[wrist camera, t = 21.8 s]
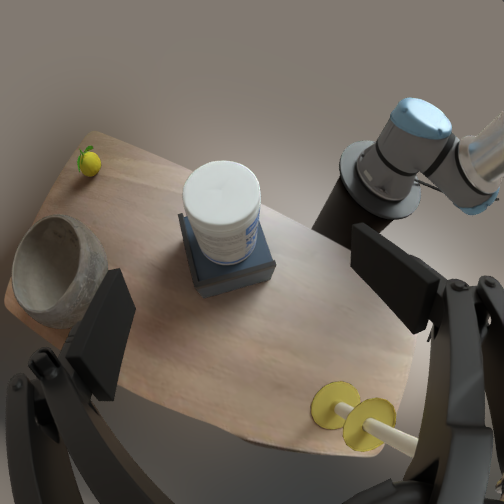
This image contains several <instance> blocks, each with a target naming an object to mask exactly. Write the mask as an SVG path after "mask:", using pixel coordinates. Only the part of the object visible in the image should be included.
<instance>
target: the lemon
mask: <svg viewBox="0 0 504 504" xmlns="http://www.w3.org/2000/svg"><path fill="white" fill-rule="evenodd" d="M91 149H93V146H88V147H87V148H86V150H85V151H84V152H85V153H83V152H82V151H81V150H80V149H79V150H80V152H81V153H82V156H81V154H80V156H79V157H78V161H77V164H78V169H79V173H80V169H81V171H82V173H83V174H84V175H86V176H89V177H91V176H94V175H96V174H97V173H98V172H99V170H100V168H101V161H100V159H99V157H98V156H97V155H96V154H95V153H93V152H86V151H89V150H91Z"/></svg>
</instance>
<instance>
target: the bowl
mask: <svg viewBox="0 0 504 504" xmlns="http://www.w3.org/2000/svg"><path fill="white" fill-rule="evenodd" d="M107 272H108V262H107V257H106V253H105V251H104V249H103V247H102V244H101V243H100V241H99V240H98V238H97V237H96V236H95V235H94V234H93V232H92V231H91V230H90V229H89V228H88V227H87V226H86V225H84V224H83V223H82V222H80V221H79V220H77V219H75V218H73V217H70V216H68V215H60V214H57V215H50V216H47V217H44V218H42V219H41V220H39V221H38V222H36V223H35V224H34V225H33V226H32V227H31V228H30V229H29V230H28V232H27V233H26V234H25V236H24V237H23V239H22V240H21V242H20V244H19V247H18V249H17V251H16V254H15V257H14V261H13V266H12V275H11V277H12V288H13V291H14V295H15V297H16V299H17V302H18V303H19V305H20V306H21V307H22V308H23V309H24V311H25V312H26V313H27V314H28V315H29V316H31V317H32V318H33V319H34V320H36V321H37V322H39V323H40V324H42V325H45V326H47V327H51V328H57V329H65V328H71V327H73V326H74V325H75V324H76V323H77V322H78V321H82V319H83V317H84V315H85V313H86V311H87V309H88V307H89V305H90V303H91V301H92V299H93V297H94V295H95V293H96V291H97V290H98V288H99V286H100V284H101V282H102V280H103V279H104V277H105V275H106V273H107Z"/></svg>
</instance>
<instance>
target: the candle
mask: <svg viewBox="0 0 504 504" xmlns="http://www.w3.org/2000/svg"><path fill="white" fill-rule="evenodd" d="M311 414H312V416H313V419H314V421H315V422H316V423H317V424H318V425H320V426H321V427H322V428H326V429H338V428H342V427H343V438H344V440H345V443H346V445H347V446H349V447H350V448H351V449H353V450H354V451H361V452H365V451H369V450H373V449H375V448H377V447H378V446H380V445H382V444H383V443H386V444H388V445H390V446H392V447H393V448H395V449H397V450H399V451H401V452H402V453H404V454H406V455H408V456H410V457H411V458H413V457H414V454H415V450H416V446H417V442H418V438H416V437H413V436H411V435H408V434H406V433H404V432H402V431H399V430H397V429H395V428H394V427H395V424H396V412H395V409H394V406H393V405H392V404H391V403H390V402H389V401H387V400H385V399H381V398H372V399H367V400H365V401H363V402H362V403H360V396H359V394H358V391H357V389H355V388H354V387H353V386H352V385H351V384H349V383H345V382H342V381H340V382H332V383H330V384H328V385H326V386H324V387H322V388H321V390H320V391H319V392H318V393H317V394H316V395H315V397H314V399H313V402H312V404H311Z"/></svg>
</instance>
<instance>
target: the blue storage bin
mask: <svg viewBox="0 0 504 504" xmlns="http://www.w3.org/2000/svg"><path fill="white" fill-rule="evenodd" d="M178 217H179V222H180V227H181V232H182V236H183V241H184V245H185V250H186V254H187V258H188V263H189V267H190V271H191V275H192V279H193V283H194V287H195V289H196V290H197V291H198V292H199V294H200V295H201V296H202V297H203V298H207V297H211V296H214V295H218V294H222V293H225V292H229V291H232V290H236V289H239V288H243V287H246V286H250V285H253V284H257V283H260V282H263V281H267V280H270V279H271V277H272V274H273V272H274V269H275V267H276V262H275V260H274V261H273V259H272V256H271V254H270V251H269V248H268V245H267V242H266V239H265V236H264V233H263V230H262V228H261V225H260V222H258V231H257V240H256V245H255V248H254V250H253V251H252V253H251V254H250V255H249V256H248V257H247V258H246V259H245V260H243V261H242V262H240V263H237V264H234V265H220V264H217V263H214V262H212V261H211V260H209V259H208V258H207V257H206V256H205V255H204V254H203V252H202V251H201V249H200V247H199V244H198V242H197V239H196V237H195V234H194V232H193V229H192V227H191V224H190V222H189V220H188V217H187V216H186V217H184V216H183V213H181V214H178Z"/></svg>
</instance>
